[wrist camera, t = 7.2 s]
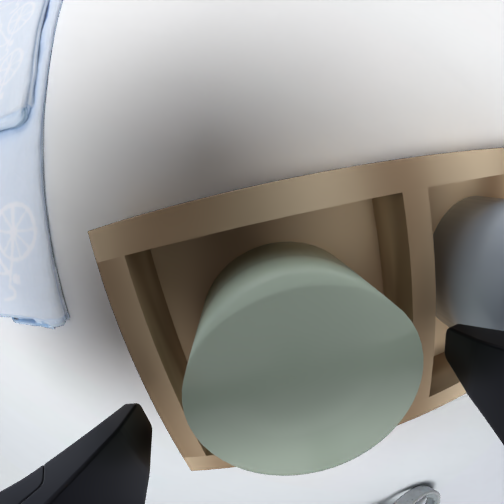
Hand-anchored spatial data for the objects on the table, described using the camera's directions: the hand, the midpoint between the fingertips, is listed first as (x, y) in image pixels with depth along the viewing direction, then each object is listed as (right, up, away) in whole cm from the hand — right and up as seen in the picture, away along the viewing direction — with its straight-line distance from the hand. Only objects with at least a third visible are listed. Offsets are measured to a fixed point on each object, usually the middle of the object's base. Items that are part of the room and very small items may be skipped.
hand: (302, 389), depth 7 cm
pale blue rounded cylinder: (+9, +3, +4) cm, 11 cm away
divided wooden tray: (+5, +2, +5) cm, 7 cm away
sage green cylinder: (0, +1, +4) cm, 5 cm away
